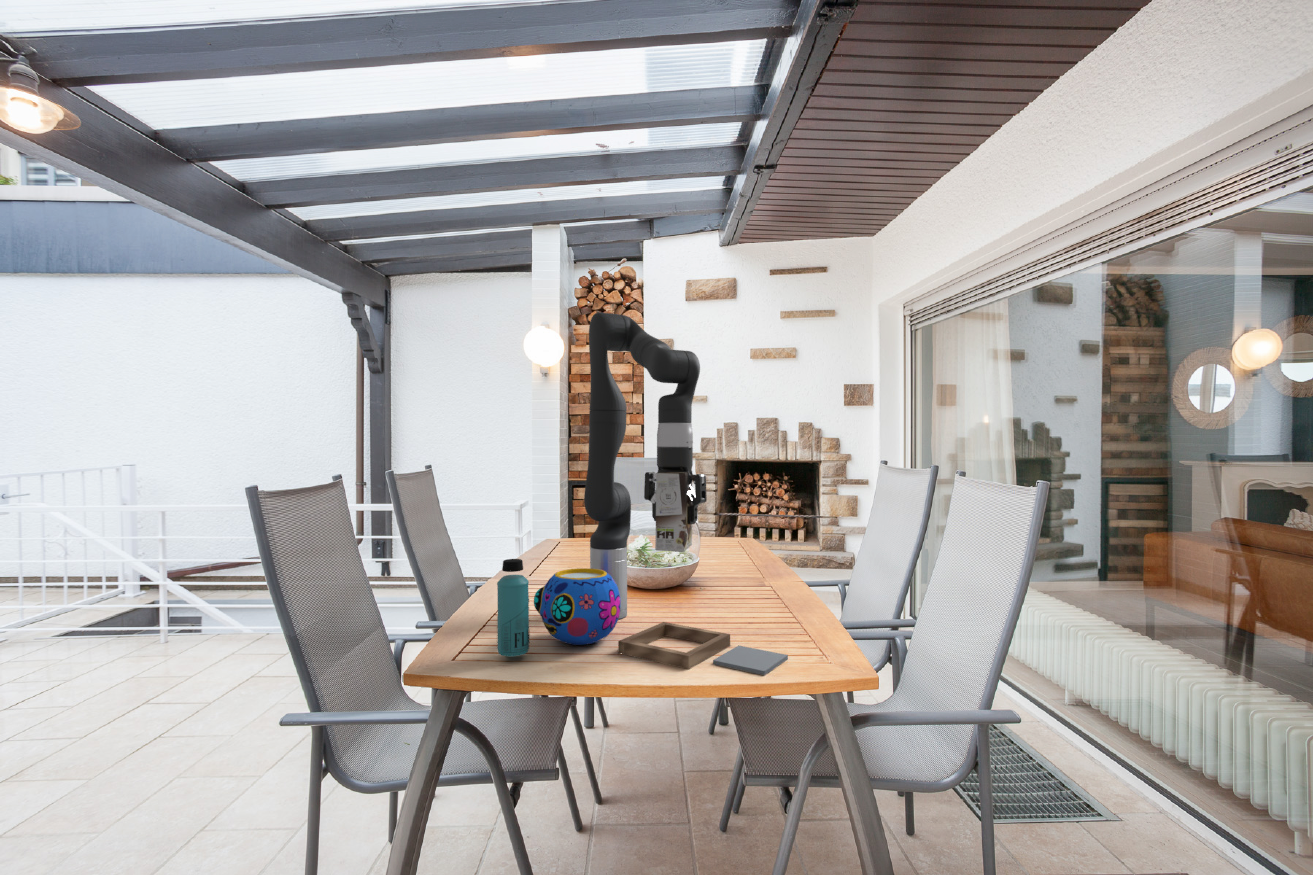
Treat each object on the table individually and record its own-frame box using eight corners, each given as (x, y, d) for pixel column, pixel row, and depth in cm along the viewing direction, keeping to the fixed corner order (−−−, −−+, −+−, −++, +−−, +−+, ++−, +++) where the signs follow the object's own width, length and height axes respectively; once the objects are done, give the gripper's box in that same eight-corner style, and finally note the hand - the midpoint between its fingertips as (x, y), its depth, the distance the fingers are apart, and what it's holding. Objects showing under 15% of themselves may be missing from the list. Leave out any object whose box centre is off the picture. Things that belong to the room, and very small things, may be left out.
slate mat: (712, 664, 128) (712, 659, 128) (738, 649, 137) (738, 645, 137) (764, 675, 122) (764, 671, 122) (787, 658, 131) (787, 654, 131)
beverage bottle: (513, 666, 127) (513, 563, 127) (489, 660, 130) (489, 560, 130) (536, 657, 132) (536, 558, 132) (512, 651, 136) (512, 555, 136)
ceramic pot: (525, 639, 144) (525, 571, 144) (594, 625, 155) (593, 562, 155) (564, 660, 130) (564, 585, 130) (637, 643, 141) (636, 574, 141)
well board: (618, 653, 135) (618, 640, 135) (663, 632, 149) (663, 621, 149) (688, 669, 125) (688, 656, 125) (730, 645, 139) (730, 634, 139)
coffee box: (685, 552, 132) (685, 472, 132) (654, 551, 133) (654, 472, 133) (693, 545, 141) (693, 470, 141) (663, 543, 142) (664, 469, 142)
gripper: (636, 444, 138) (636, 521, 138) (694, 445, 130) (694, 527, 130) (656, 444, 144) (656, 518, 144) (713, 445, 136) (713, 523, 136)
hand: (674, 522), depth 137 cm, fingers closed on coffee box, 8 cm apart
